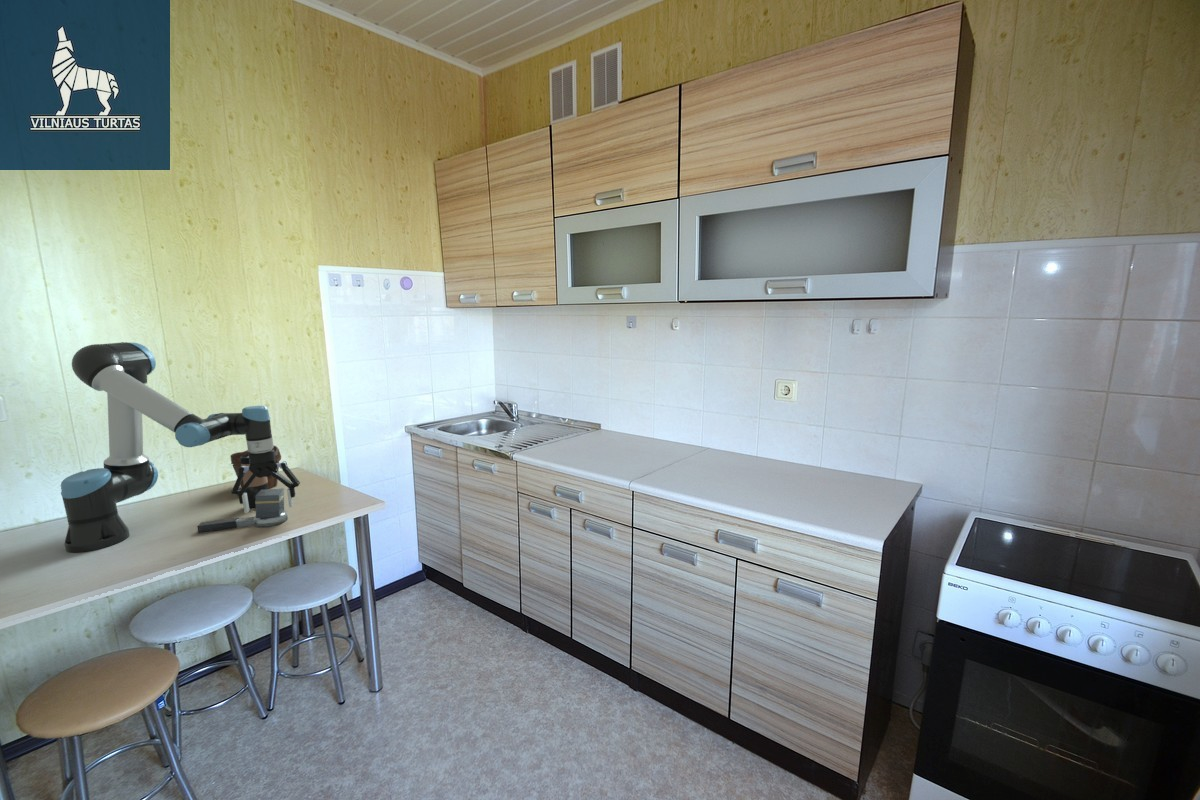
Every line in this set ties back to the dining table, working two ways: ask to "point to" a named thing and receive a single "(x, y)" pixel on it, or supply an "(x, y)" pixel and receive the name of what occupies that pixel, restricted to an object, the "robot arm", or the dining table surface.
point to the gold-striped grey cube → (269, 503)
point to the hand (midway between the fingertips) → (269, 509)
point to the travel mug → (255, 485)
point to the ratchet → (241, 523)
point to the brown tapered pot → (236, 456)
